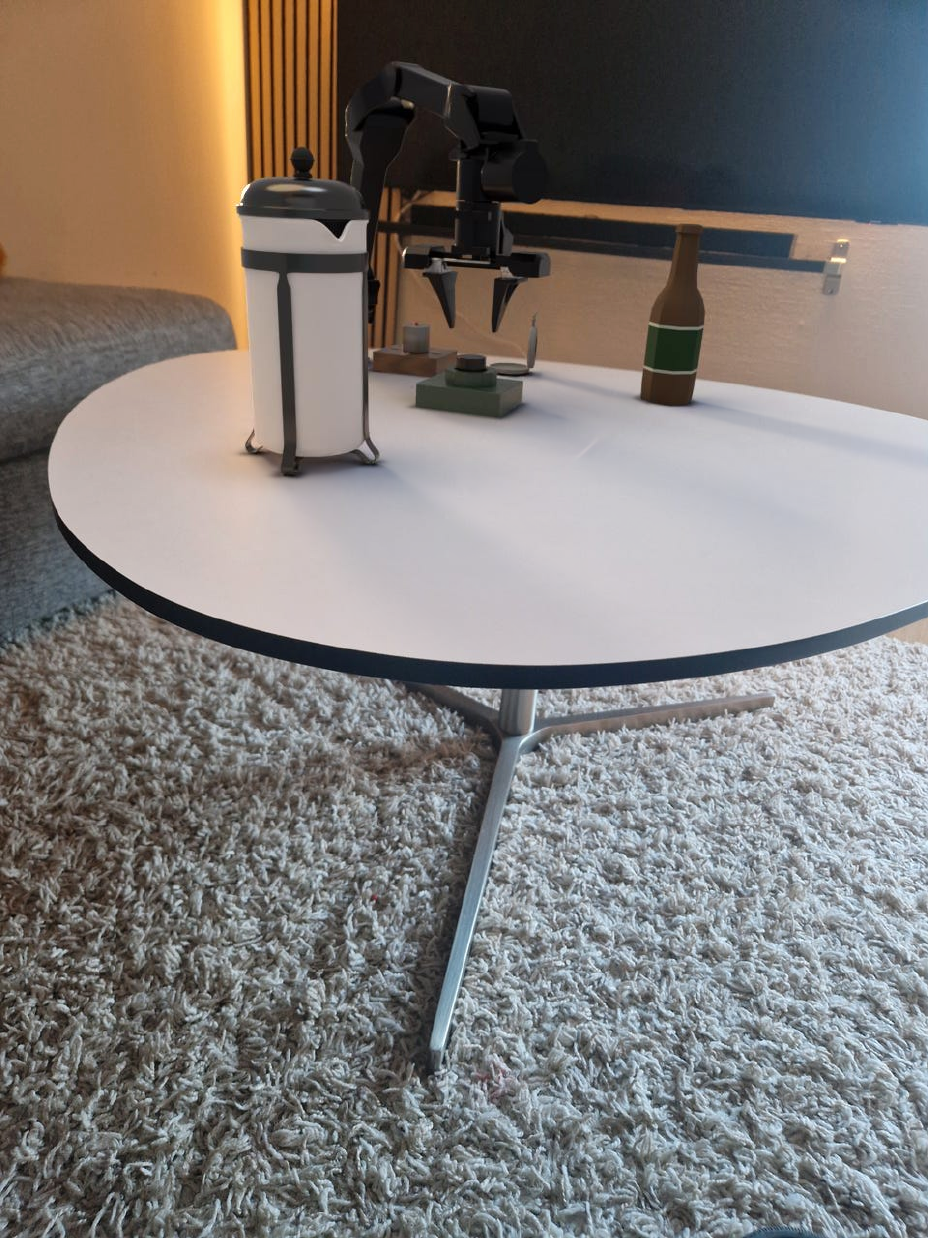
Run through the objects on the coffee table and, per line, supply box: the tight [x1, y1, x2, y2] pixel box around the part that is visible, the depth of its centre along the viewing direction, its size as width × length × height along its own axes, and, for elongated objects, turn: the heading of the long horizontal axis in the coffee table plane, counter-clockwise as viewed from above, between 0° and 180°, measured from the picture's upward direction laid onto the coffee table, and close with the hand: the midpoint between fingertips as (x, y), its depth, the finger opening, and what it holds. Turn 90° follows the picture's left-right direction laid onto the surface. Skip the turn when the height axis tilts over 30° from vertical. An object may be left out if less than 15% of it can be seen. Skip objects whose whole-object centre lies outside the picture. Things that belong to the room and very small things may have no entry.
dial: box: [401, 320, 431, 353], centre depth 144 cm, size 4×4×4 cm
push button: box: [456, 353, 487, 372], centre depth 122 cm, size 4×4×2 cm
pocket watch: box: [488, 310, 538, 376], centre depth 145 cm, size 8×8×10 cm
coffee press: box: [235, 146, 381, 476], centre depth 92 cm, size 17×16×30 cm
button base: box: [415, 365, 524, 419], centre depth 123 cm, size 12×10×5 cm
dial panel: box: [372, 343, 458, 378], centre depth 146 cm, size 11×9×3 cm
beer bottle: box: [639, 222, 706, 406], centre depth 128 cm, size 8×8×24 cm
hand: (473, 330), depth 120 cm, fingers open, 6 cm apart
